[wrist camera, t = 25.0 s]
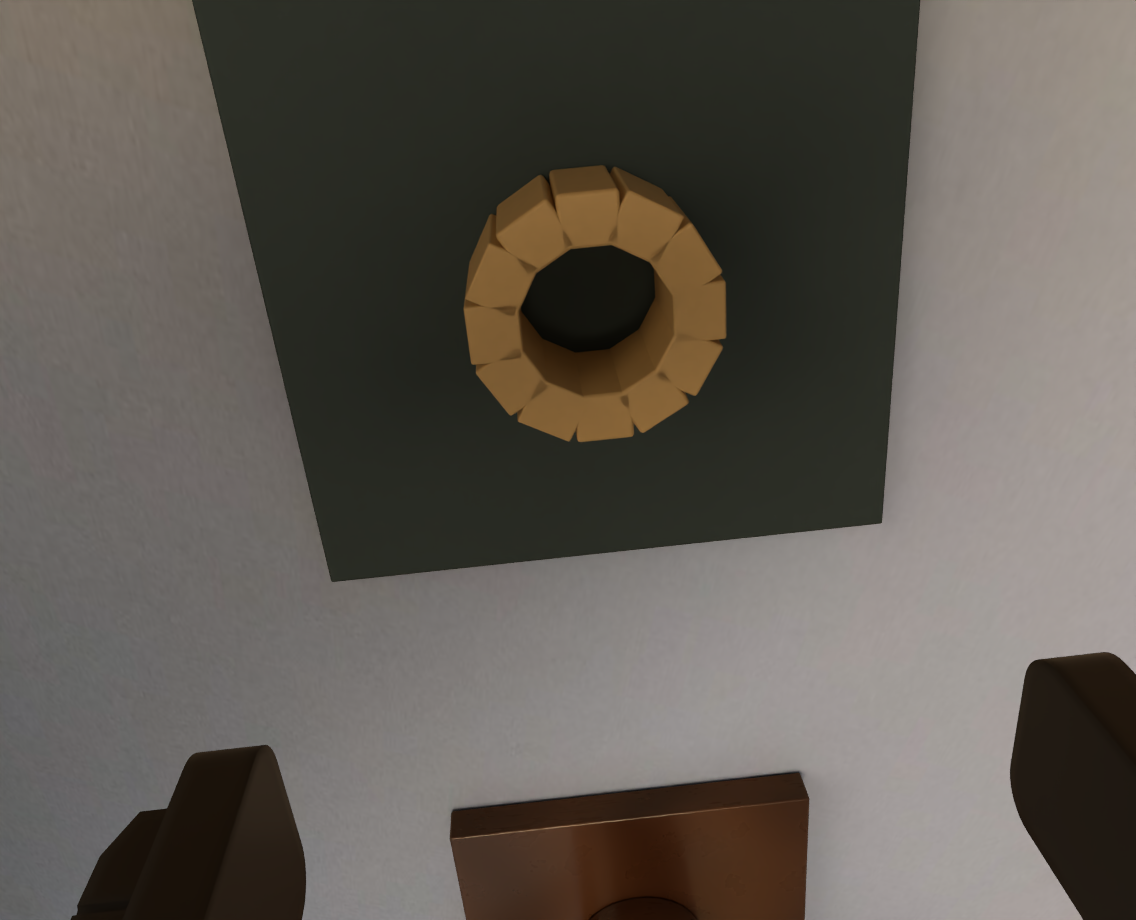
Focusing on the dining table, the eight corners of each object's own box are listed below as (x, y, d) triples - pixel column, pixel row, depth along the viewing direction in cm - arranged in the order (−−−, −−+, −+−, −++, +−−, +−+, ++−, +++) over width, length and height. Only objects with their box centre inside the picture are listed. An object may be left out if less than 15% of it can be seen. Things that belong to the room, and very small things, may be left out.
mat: (334, 571, 28) (331, 582, 27) (188, -47, 20) (180, -47, 20) (875, 513, 28) (882, 524, 27) (919, -117, 21) (929, -119, 20)
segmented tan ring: (485, 403, 25) (483, 454, 22) (454, 178, 22) (448, 205, 20) (703, 381, 25) (728, 428, 22) (698, 154, 22) (725, 177, 20)
